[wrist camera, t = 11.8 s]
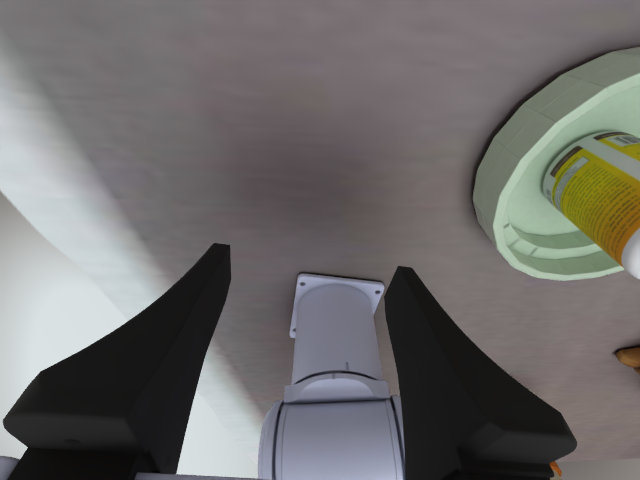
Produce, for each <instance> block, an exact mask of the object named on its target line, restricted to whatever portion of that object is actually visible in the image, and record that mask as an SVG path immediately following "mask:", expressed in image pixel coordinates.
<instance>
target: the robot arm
mask: <svg viewBox="0 0 640 480" xmlns="http://www.w3.org/2000/svg"><path fill="white" fill-rule="evenodd" d="M230 281H231V262H230V245H226V244H218V243H214V244H213V245H212V246H211V247H210V248H209V249H208V250H207V252H206V253H205V254H204V255H203V256H202V257H201V258H200V259H199V260H198V262H197V263H196V264H195V265H194V266H193V267H192V268H191V269H190V270H189V271H188V272H187V273H186V274H185V275H184V276H183V277H182V278H181V279H180V280H179V281H178V282H177V283H175V284H174V285H173V286H172V287H171V288H170V289H169V290H168V291H167V292H165V293H164V294H163V295H162V296H161V297H160V298H158V299H157V300H156V301H155V302H154V303H152V304H151V305H150V306H148V307H147V308H146V309H144V310H143V311H142V312H141V313H139V314H138V315H136V316H135V317H133V318H132V319H131V320H129V321H128V322H126V323H125V324H124V325H122V326H121V327H119V328H117V329H116V330H115V331H113V332H111V333H110V334H108V335H106V336H105V337H103V338H102V339H100V340H98V341H96V342H95V343H93V344H91V345H90V346H88V347H87V348H85V349H83V350H81V351H79V352H78V353H76V354H74V355H72V356H70V357H68V358H66V359H64V360H62V361H60V362H58V363H57V364H54V365H53V366H51V367H49V368H47V369H45V370H43V371H41V372H40V373H39V374H38V375H37V376H36V378H35V379H34V380H33V381H32V382H31V383H30V385H29V386H28V387H27V388H26V389H25V391H24V392H23V394H22V395H21V396H20V398H19V399H18V400H17V402H16V403H15V404H14V406H13V407H12V408H11V410H10V411H9V412H8V414H7V415H6V417H5V418H4V419H3V425H4V428H5V429H6V430H7V431H8V432H9V433H10V434H11V435H13V436H14V437H15V438H17V439H18V440H19V441H21V442H22V443H23V444H24V445H26V446H27V447H28V448H27V450H26V451H25V453H24V455H23V456H22V458H21V459H20V460H19V459H16V458H13V457H6V456H0V480H550V478H552V477H554V472H553V470H552V468H551V466H550V464H549V463H551V462H553V461H555V460H557V459H559V458H562V457H564V456H566V455H568V454H569V453H571V452H573V451H574V450H575V448H576V446H577V441H576V439H575V437H574V436H573V434H572V432H571V430H570V428H569V427H568V425H567V423H566V421H565V420H564V418H563V416H562V414H561V413H560V412H559V411H557V410H556V409H554V408H553V407H551V406H550V405H549V404H547V403H546V402H544V401H543V400H542V399H540V398H539V397H537V396H536V395H534V394H533V393H532V392H530V391H529V390H528V389H526V388H525V387H524V386H523V385H521V384H520V383H519V382H517V381H516V380H515V379H514V378H512V377H511V376H510V375H509V374H507V373H506V372H505V371H504V370H503V369H501V368H500V367H499V366H498V365H497V364H496V363H495V362H493V361H492V360H491V359H490V358H489V357H488V356H487V355H486V354H485V353H483V352H482V351H481V350H480V349H479V348H478V347H477V346H476V345H475V344H474V343H473V342H472V341H471V340H470V339H469V338H468V337H467V336H466V335H465V334H464V333H463V331H462V330H461V329H460V328H459V327H458V326H457V325H456V324H455V323H454V321H453V320H452V319H451V318H450V317H449V316H448V314H447V313H446V312H445V311H444V310H443V308H442V307H441V306H440V305H439V303H438V302H437V301H436V300H435V298H434V297H433V296H432V294H431V293H430V292H429V290H428V289H427V288H426V286H425V285H424V284H423V282H422V281H421V279H420V278H419V277H418V275H417V274H416V273H415V271H414V270H413V269H412V268H410V267H402V266H398V267H397V270H396V272H395V274H394V276H393V278H392V281H391V283H390V285H389V287H388V289H387V292H386V294H385V296H384V300H385V313H386V321H387V325H388V330H389V335H390V339H391V344H392V349H393V353H394V358H395V362H396V367H397V373H398V380H399V389H400V396H398V395H391V397H390V395H389V389H388V383H387V381H383V374H382V368H381V362H380V355H379V349H378V343H377V336H376V330H375V324H374V317H373V315H374V313H375V310H376V308H377V305H378V303H379V301H380V298H381V296H382V293H383V291H384V284H383V283H381V282H374V281H365V280H356V279H348V278H339V277H330V276H321V275H312V274H300V275H298V279H297V286H296V293H295V300H294V306H293V313H292V320H291V327H290V334H289V335H290V337H292V338H295V348H294V360H293V372H292V384H291V385H286V386H285V394H284V400H278V401H276V402H275V403H274V404H273V405H272V407H271V409H270V410H269V411H268V412H267V414H266V416H265V419H264V422H263V426H262V431H261V436H260V444H259V454H258V479H254V478H253V479H252V478H235V477H215V476H196V475H178V474H176V472H177V467H178V462H179V458H180V453H181V449H182V445H183V441H184V436H185V432H186V428H187V424H188V420H189V415H190V411H191V407H192V403H193V399H194V396H195V392H196V388H197V384H198V380H199V376H200V373H201V369H202V365H203V362H204V358H205V355H206V352H207V349H208V346H209V344H210V341H211V338H212V336H213V333H214V331H215V328H216V325H217V323H218V320H219V317H220V315H221V312H222V309H223V307H224V304H225V301H226V298H227V294H228V290H229V285H230ZM301 282H304V283H301ZM377 290H379V291H377Z"/></svg>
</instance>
